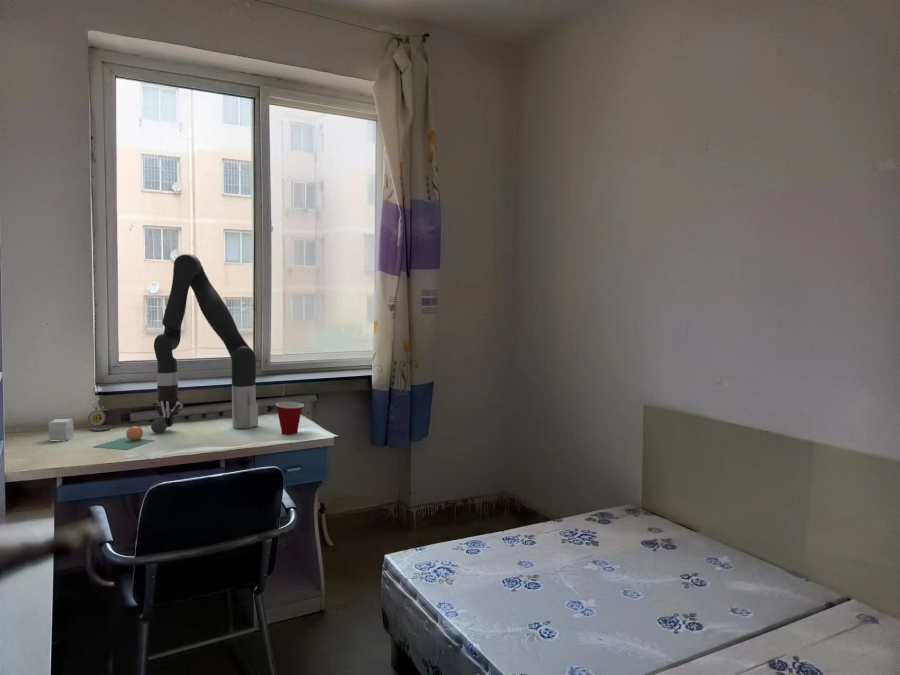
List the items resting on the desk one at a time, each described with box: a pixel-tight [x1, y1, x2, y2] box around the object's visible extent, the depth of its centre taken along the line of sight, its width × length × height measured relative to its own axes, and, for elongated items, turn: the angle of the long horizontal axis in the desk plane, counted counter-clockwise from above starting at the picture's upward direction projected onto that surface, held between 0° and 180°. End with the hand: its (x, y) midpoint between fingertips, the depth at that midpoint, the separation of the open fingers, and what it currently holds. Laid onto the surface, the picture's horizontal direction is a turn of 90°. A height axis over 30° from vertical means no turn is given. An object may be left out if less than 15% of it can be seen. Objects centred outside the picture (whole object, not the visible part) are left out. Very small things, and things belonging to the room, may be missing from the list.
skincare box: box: [47, 418, 75, 442], centre depth 223 cm, size 6×6×7 cm
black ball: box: [150, 418, 168, 434], centre depth 234 cm, size 6×6×6 cm
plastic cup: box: [275, 401, 305, 435], centre depth 236 cm, size 11×11×12 cm
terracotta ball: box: [125, 425, 144, 441], centre depth 222 cm, size 6×6×6 cm
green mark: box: [93, 437, 155, 451], centre depth 218 cm, size 14×14×1 cm
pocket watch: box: [87, 403, 112, 432], centre depth 240 cm, size 8×8×10 cm
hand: (168, 426), depth 240 cm, fingers closed
